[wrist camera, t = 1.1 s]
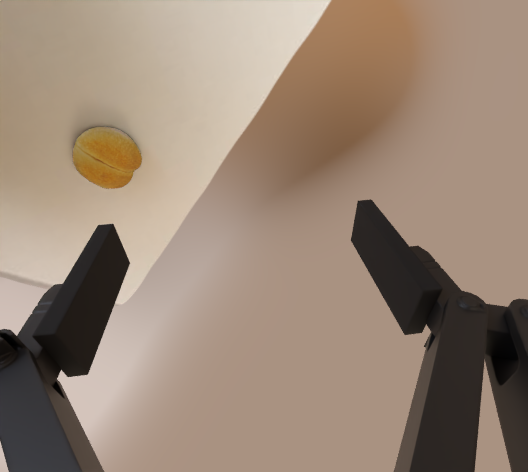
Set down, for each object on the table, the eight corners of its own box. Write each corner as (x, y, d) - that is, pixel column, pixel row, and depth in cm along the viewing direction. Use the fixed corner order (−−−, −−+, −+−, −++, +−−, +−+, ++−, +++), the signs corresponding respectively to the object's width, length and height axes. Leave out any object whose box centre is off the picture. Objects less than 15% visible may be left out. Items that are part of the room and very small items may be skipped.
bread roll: (151, 146, 43) (147, 158, 40) (122, 189, 47) (117, 203, 44) (93, 110, 39) (84, 120, 36) (66, 160, 43) (56, 173, 40)
